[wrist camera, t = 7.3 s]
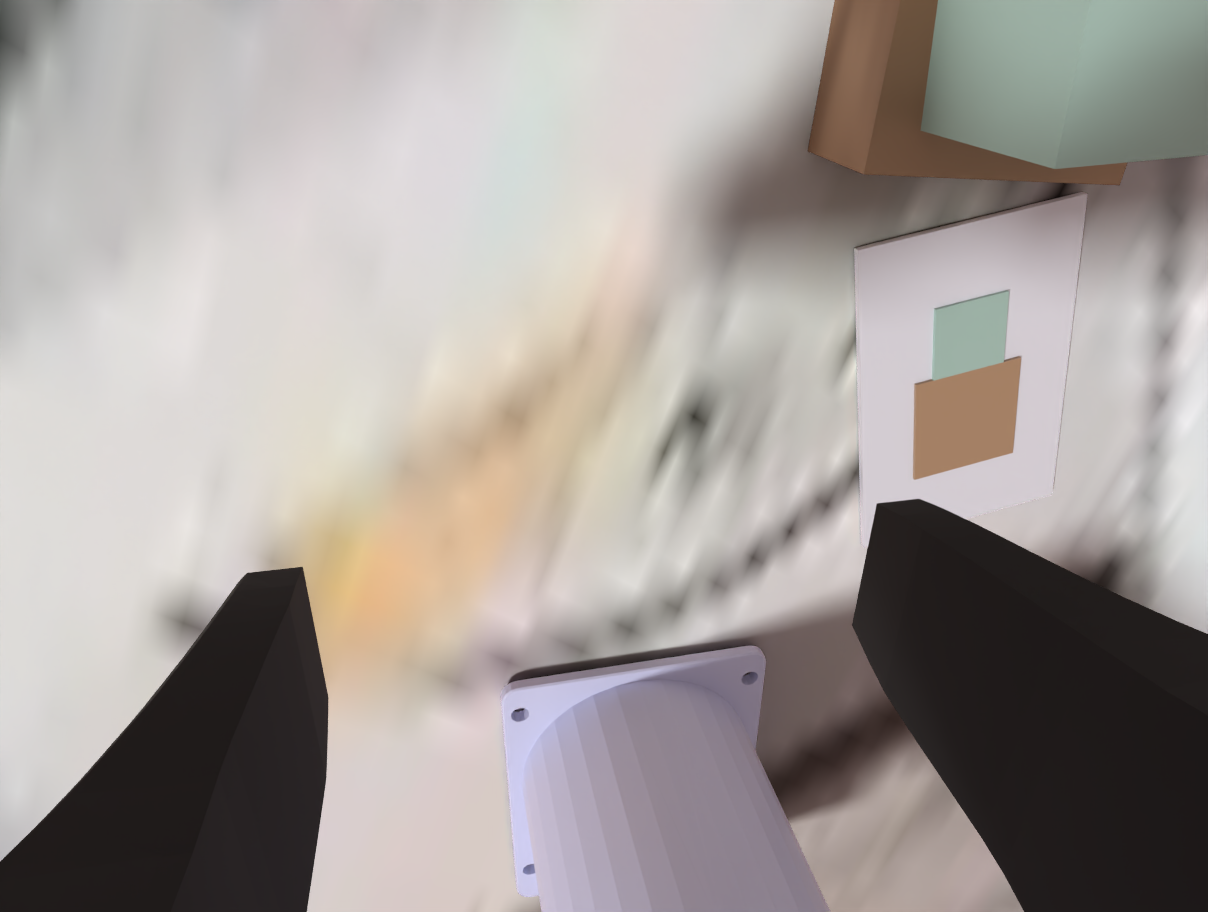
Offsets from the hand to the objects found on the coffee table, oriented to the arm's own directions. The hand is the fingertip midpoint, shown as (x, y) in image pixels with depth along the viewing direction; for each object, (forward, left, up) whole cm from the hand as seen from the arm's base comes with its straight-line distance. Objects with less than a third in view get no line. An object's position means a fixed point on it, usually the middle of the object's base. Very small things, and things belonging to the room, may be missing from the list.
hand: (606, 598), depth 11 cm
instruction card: (-3, -12, -10) cm, 16 cm away
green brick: (+6, -10, -8) cm, 14 cm away
